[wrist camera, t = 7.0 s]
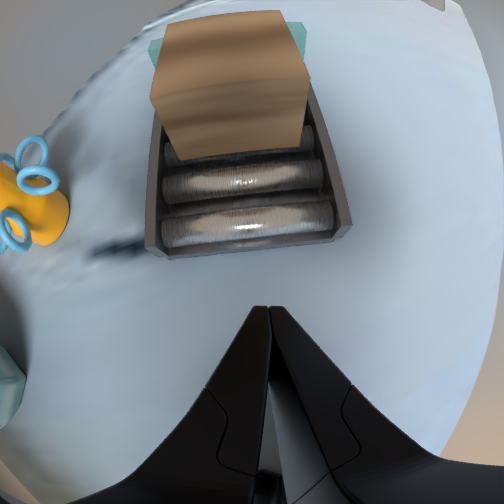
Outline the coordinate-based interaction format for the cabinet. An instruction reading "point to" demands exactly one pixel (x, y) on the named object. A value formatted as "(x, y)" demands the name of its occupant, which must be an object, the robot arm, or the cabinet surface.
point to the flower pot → (9, 387)
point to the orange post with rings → (30, 200)
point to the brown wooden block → (230, 84)
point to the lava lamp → (436, 4)
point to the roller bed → (245, 196)
